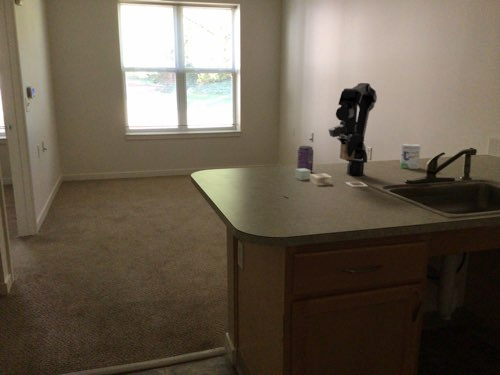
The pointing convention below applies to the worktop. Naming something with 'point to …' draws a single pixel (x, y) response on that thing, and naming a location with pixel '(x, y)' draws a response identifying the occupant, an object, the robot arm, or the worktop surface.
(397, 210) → the worktop surface
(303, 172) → the sage block
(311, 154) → the beverage can
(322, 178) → the beech base
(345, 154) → the walnut block
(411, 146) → the ink box
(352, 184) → the swatch
